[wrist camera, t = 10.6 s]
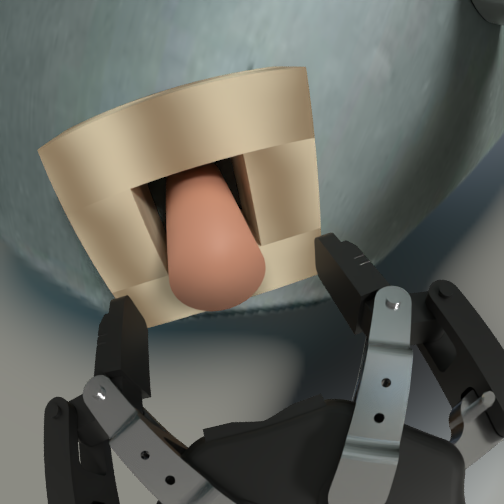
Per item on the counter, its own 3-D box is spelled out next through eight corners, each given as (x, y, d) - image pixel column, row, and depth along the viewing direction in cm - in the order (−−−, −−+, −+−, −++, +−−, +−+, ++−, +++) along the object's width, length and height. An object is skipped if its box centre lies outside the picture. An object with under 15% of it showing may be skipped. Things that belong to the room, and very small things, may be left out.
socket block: (272, 66, 16) (305, 66, 12) (295, 236, 24) (321, 273, 21) (67, 129, 14) (37, 149, 10) (139, 285, 23) (138, 330, 19)
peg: (215, 149, 18) (257, 221, 11) (227, 200, 21) (271, 294, 13) (158, 167, 18) (153, 253, 10) (175, 216, 20) (187, 320, 13)
